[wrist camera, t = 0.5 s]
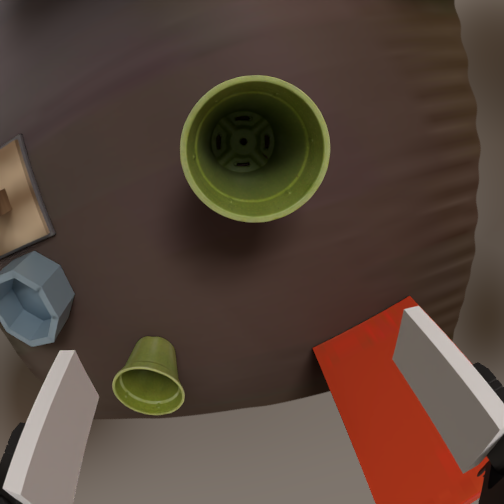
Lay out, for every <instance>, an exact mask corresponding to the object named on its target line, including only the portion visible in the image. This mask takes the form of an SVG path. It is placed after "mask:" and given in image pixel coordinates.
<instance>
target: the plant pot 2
mask: <svg viewBox="0 0 504 504" xmlns="http://www.w3.org/2000/svg"><path fill="white" fill-rule="evenodd" d="M238 116H248V117H249V120H238V121H236V117H238ZM220 127H221V128H220ZM218 135H220V136H221V145H220V147H221V148H220V149H217V144H216V143H217V142H216V140H217V136H218ZM265 135H267V136H269V147H268V148H265ZM243 138H245V139H246V140H247V143H246V144H245V145H242V144H241V143H240V140H241V139H243ZM261 152H262V153H263V154H265V155H266V156H267V157H268V159H267V158H266V157H265V156H264V155H263V154H262V153H261ZM329 157H330V138H329V133H328V129H327V126H326V123H325V120H324V118H323V116H322V114H321V112H320V111H319V109H318V107H317V106H316V105H315V104H314V102H313V101H312V100H311V99H310V98H309V97H308V96H307V95H306V94H305V93H304V92H302V91H301V90H300V89H298V88H297V87H295V86H294V85H292V84H290V83H288V82H285V81H283V80H280V79H277V78H274V77H269V76H260V75H251V76H242V77H237V78H234V79H231V80H228V81H225V82H223V83H221V84H219V85H217V86H216V87H214V88H212V89H211V90H210V91H209V92H207V93H206V94H205V95H204V96H203V97H202V98H201V99H200V100H199V101H198V102H197V103H196V105H195V106H194V107H193V109H192V111H191V112H190V114H189V116H188V117H187V120H186V122H185V124H184V127H183V130H182V134H181V140H180V159H181V165H182V168H183V172H184V175H185V177H186V179H187V182H188V184H189V185H190V187H191V189H192V190H193V192H194V193H195V194H196V196H197V197H198V198H199V199H200V200H201V201H202V202H203V203H204V204H205V205H206V206H208V207H209V208H210V209H212V210H213V211H215V212H217V213H219V214H220V215H222V216H225V217H227V218H230V219H233V220H236V221H242V222H250V223H255V222H267V221H272V220H275V219H278V218H281V217H284V216H286V215H288V214H290V213H292V212H294V211H295V210H297V209H298V208H300V207H301V206H302V205H304V204H305V203H306V202H307V201H308V200H309V199H310V198H311V197H312V196H313V194H314V193H315V192H316V190H317V189H318V187H319V186H320V184H321V182H322V180H323V178H324V176H325V174H326V171H327V167H328V163H329ZM237 163H250V166H249V165H248V166H237Z"/></svg>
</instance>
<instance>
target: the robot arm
mask: <svg viewBox="0 0 504 504" xmlns="http://www.w3.org/2000/svg"><path fill="white" fill-rule="evenodd" d="M392 360H393V361H394V363H395V364H396V366H397V367H398V369H399V370H400V372H401V373H402V375H403V376H404V378H405V379H406V381H407V382H408V384H409V385H410V387H411V389H412V390H413V392H414V393H415V395H416V396H417V398H418V400H419V401H420V403H421V404H422V406H423V407H424V409H425V411H426V412H427V414H428V416H429V417H430V419H431V420H432V422H433V424H434V425H435V427H436V429H437V430H438V432H439V434H440V435H441V437H442V439H443V440H444V442H445V444H446V445H447V447H448V449H449V450H450V452H451V454H452V455H453V457H454V459H455V461H456V462H457V464H458V466H459V468H460V469H461V471H462V473H463V474H464V473H465V472H467V471H469V470H471V469H472V468H474V467H476V466H477V465H479V464H480V463H481V462H482V460H483V459H484V458H485V457H486V456H487V458H488V459H489V461H488V462H487V463H486V464H485V465H484V466H483V467H482V468H481V469H480V471H479V472H478V474H477V476H478V477H479V476H480V475H481V474H482V473H483V472H484V471H485V474H484V475H483V477H484V481H483V486H482V491H481V495H480V500H479V504H504V387H502V384H501V383H500V382H499V381H498V380H496V377H495V376H494V375H493V374H492V372H491V371H490V370H489V369H488V368H486V367H485V366H483V365H481V364H480V363H475V364H473V365H472V364H471V363H470V362H469V361H468V359H467V358H466V357H465V356H464V355H463V354H462V352H461V351H460V350H459V349H458V348H457V347H456V346H455V345H454V343H453V342H452V341H451V340H450V339H449V338H448V337H447V336H446V335H445V333H444V332H443V331H442V330H441V329H440V328H439V327H438V326H437V325H436V324H435V323H434V321H433V320H432V319H431V318H430V317H429V316H428V315H427V314H426V313H425V312H424V311H423V310H422V309H421V308H420V307H419V306H415V307H411V308H407V309H404V311H403V316H402V320H401V325H400V329H399V334H398V338H397V342H396V346H395V350H394V354H393V358H392ZM98 400H99V395H98V393H97V392H96V390H95V388H94V386H93V384H92V382H91V381H90V379H89V377H88V375H87V373H86V371H85V369H84V367H83V365H82V363H81V361H80V359H79V357H78V355H77V353H76V351H75V350H60V351H59V353H58V355H57V357H56V359H55V361H54V363H53V365H52V367H51V369H50V371H49V373H48V375H47V377H46V379H45V381H44V383H43V385H42V388H41V390H40V392H39V394H38V397H37V399H36V401H35V403H34V406H33V408H32V410H31V413H30V415H29V417H28V419H27V422H26V423H19V425H18V426H17V427H16V428H15V429H14V430H13V432H12V434H11V436H10V439H9V441H8V445H7V447H6V449H5V454H3V457H2V460H1V462H0V504H73V502H74V497H75V492H76V487H77V482H78V477H79V473H80V468H81V464H82V460H83V455H84V451H85V447H86V443H87V439H88V435H89V431H90V428H91V424H92V420H93V417H94V413H95V410H96V406H97V403H98Z"/></svg>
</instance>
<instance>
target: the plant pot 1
mask: <svg viewBox="0 0 504 504" xmlns="http://www.w3.org/2000/svg"><path fill="white" fill-rule="evenodd" d="M112 387H113V391H114V394H115V395H116V397H117V398H118V399H119V401H120V402H122V403H123V404H124V405H125V406H127V407H128V408H130V409H132V410H134V411H137V412H140V413H143V414H148V415H163V414H169V413H172V412H174V411H175V410H177V409H178V408H180V407H181V405H182V404H183V402H184V398H185V394H184V389H183V387H182V385H181V384H180V381H179V379H178V372H177V363H176V353H175V349H174V347H173V346H172V344H171V343H170V342H168V341H167V340H165V339H164V338H161V337H149V336H146V337H143V338H141V339H140V340H139V341H138V342H137V343H136V345H135V347H134V349H133V351H132V353H131V355H130V357H129V359H128V361H127V363H126V365H125V366H124V367H123V368H122V370H120V371H119V372H118V373H117V374H116V375H115V377H114V379H113V383H112Z"/></svg>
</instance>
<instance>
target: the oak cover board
mask: <svg viewBox="0 0 504 504" xmlns="http://www.w3.org/2000/svg"><path fill="white" fill-rule="evenodd" d="M49 233H50V231H49V229H48V227H47V224H46V222H45V219H44V217H43V214H42V212H41V209H40V206H39V204H38V201H37V198H36V195H35V193H34V190H33V187H32V184H31V181H30V178H29V175H28V172H27V169H26V166H25V162H24V159H23V156H22V152H21V149H20V145H19V141H18V139H17V140H14V141H12V142H11V143H9V144H8V145H6V146H5V147H3V148H2V149H0V256H1V255H3V254H6V253H8V252H10V251H12V250H14V249H16V248H18V247H21V246H23V245H25V244H27V243H29V242H32V241H34V240H36V239H39V238H41V237H43V236H45V235H48V234H49Z"/></svg>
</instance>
